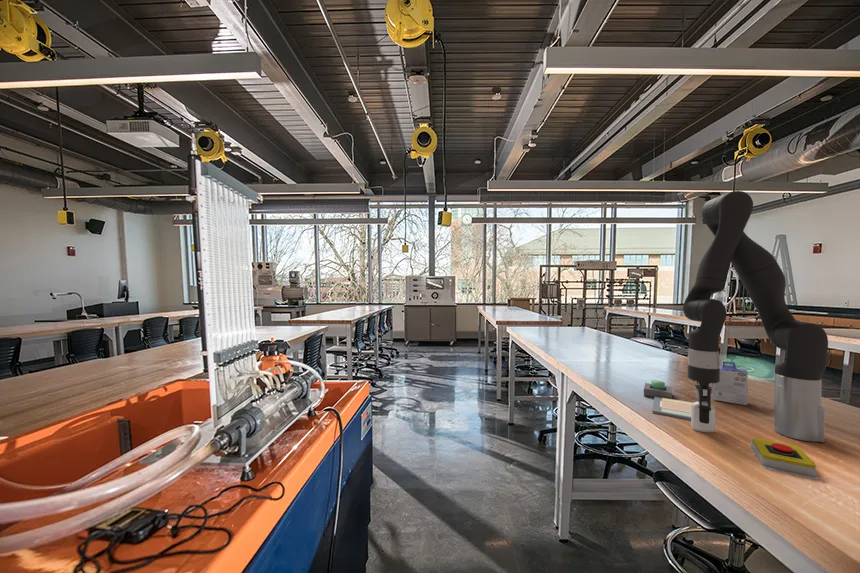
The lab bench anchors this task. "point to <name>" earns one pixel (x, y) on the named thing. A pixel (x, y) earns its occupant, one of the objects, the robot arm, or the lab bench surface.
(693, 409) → the eye dropper bottle
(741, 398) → the ink cartridge box
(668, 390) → the button housing
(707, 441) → the lab bench surface
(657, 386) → the button
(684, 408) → the colouring board
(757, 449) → the emergency button
